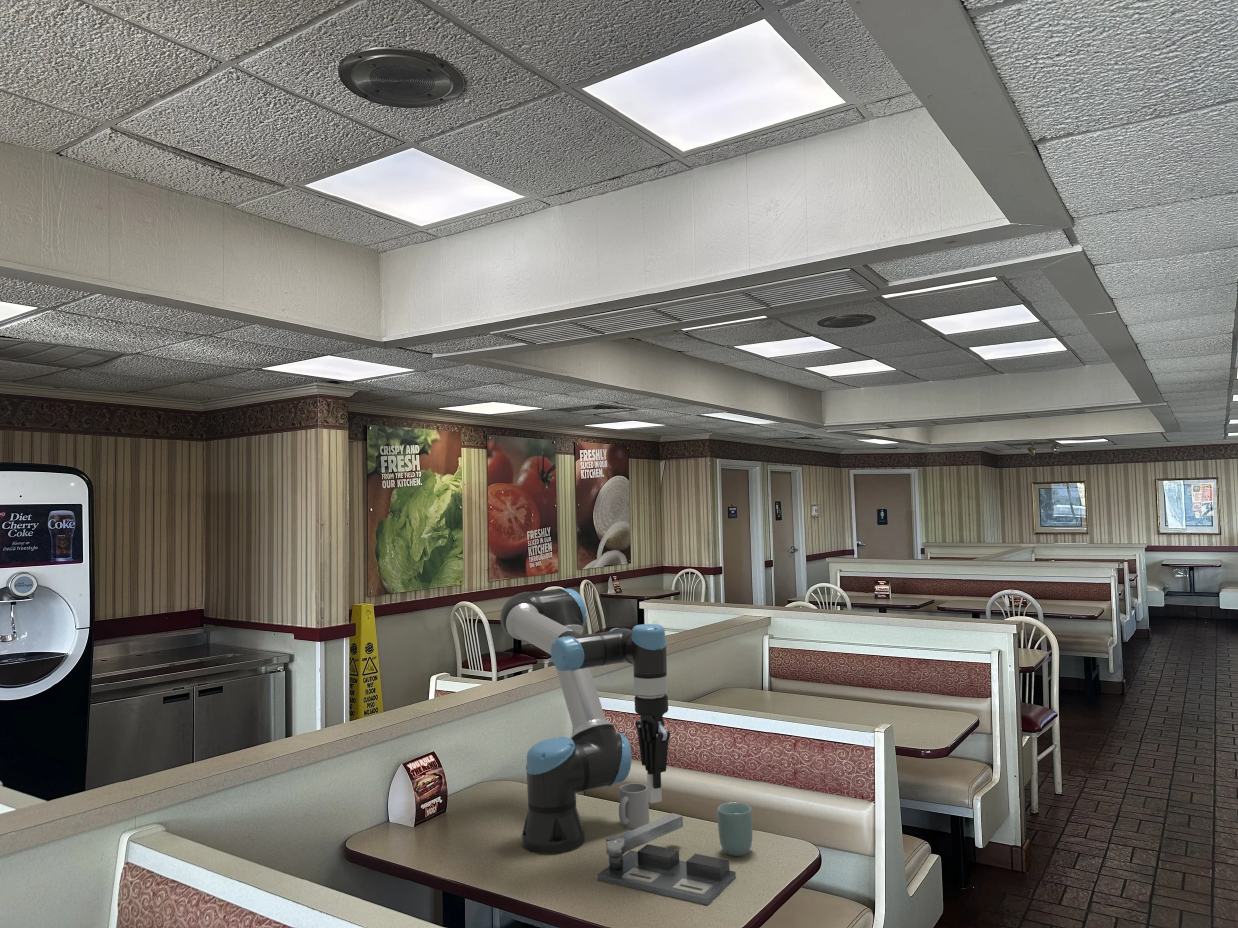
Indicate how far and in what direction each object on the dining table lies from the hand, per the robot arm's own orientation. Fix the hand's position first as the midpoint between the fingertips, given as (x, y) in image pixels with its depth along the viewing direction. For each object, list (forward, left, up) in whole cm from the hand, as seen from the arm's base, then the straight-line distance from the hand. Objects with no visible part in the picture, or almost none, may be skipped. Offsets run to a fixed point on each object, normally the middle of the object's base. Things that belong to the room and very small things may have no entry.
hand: (655, 801), depth 187 cm
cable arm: (-4, +1, -9) cm, 10 cm away
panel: (+5, -6, -14) cm, 16 cm away
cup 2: (+13, +13, -14) cm, 24 cm away
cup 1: (-17, +17, -14) cm, 28 cm away
